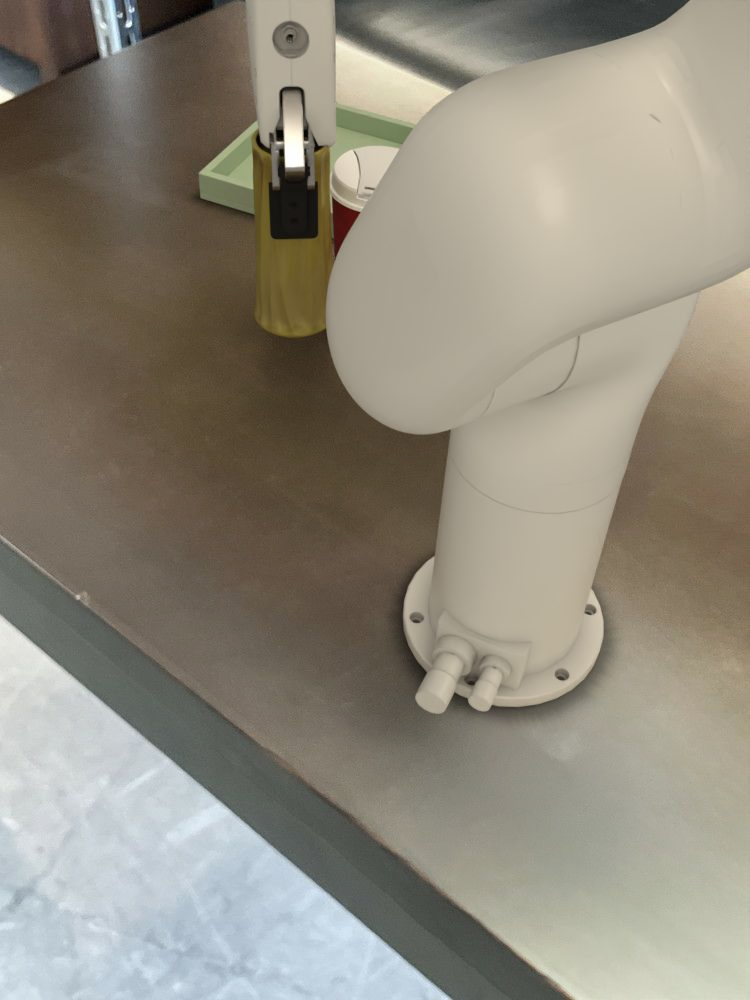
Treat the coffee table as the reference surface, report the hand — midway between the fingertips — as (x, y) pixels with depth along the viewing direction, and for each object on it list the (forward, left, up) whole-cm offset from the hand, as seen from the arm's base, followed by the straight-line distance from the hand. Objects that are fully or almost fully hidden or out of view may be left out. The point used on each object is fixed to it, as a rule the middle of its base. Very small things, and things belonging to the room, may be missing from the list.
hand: (292, 209), depth 79 cm
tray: (+25, +10, -14) cm, 31 cm away
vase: (0, 0, -9) cm, 9 cm away
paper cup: (+7, -3, -7) cm, 10 cm away
